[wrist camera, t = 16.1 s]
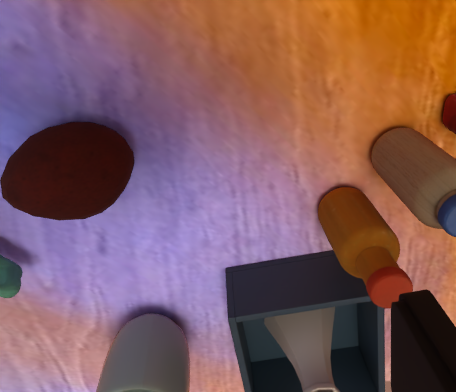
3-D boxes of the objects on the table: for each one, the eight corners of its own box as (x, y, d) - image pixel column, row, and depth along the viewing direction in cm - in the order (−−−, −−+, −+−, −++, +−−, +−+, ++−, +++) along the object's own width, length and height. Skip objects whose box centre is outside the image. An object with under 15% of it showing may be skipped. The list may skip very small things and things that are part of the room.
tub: (245, 361, 46) (250, 418, 40) (225, 267, 41) (228, 318, 35) (362, 342, 46) (385, 398, 40) (358, 245, 40) (384, 293, 34)
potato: (110, 121, 28) (119, 98, 33) (-38, 164, 28) (-6, 135, 33) (148, 213, 31) (150, 179, 37) (15, 252, 31) (37, 212, 37)
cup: (157, 288, 41) (143, 373, 33) (206, 335, 44) (205, 424, 36) (99, 326, 43) (70, 415, 34) (149, 368, 46) (135, 460, 37)
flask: (327, 275, 40) (360, 359, 32) (340, 329, 44) (374, 419, 35) (254, 294, 41) (266, 381, 32) (272, 346, 44) (288, 438, 36)
